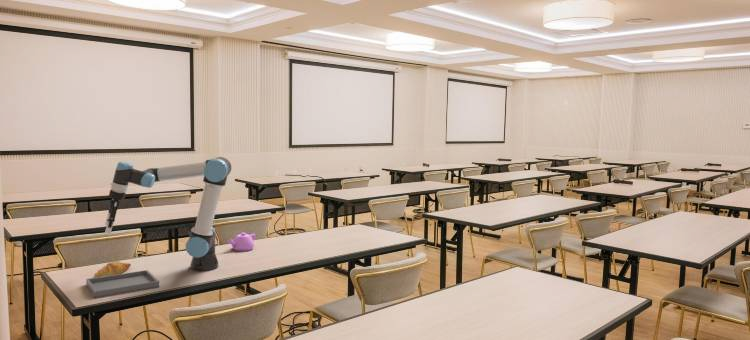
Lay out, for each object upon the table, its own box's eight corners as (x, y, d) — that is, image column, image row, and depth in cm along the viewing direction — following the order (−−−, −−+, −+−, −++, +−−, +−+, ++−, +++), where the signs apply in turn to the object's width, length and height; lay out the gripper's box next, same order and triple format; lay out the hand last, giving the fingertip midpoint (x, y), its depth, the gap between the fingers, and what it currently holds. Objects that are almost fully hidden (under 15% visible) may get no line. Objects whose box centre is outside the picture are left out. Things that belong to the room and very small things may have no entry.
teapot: (222, 249, 335) (222, 233, 334) (249, 244, 350) (249, 228, 349) (234, 253, 326) (234, 237, 325) (261, 248, 340) (261, 232, 339)
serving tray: (147, 275, 279) (147, 269, 278) (159, 286, 261) (159, 281, 261) (86, 284, 261) (86, 279, 261) (94, 297, 244) (94, 291, 243)
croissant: (98, 286, 270) (102, 274, 267) (86, 274, 273) (90, 262, 270) (133, 274, 289) (137, 263, 286) (122, 263, 292) (126, 252, 289)
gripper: (110, 183, 283) (100, 220, 284) (110, 195, 261) (99, 235, 263) (125, 186, 286) (115, 223, 288) (126, 198, 265) (115, 237, 266)
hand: (107, 228), depth 275 cm, fingers open, 13 cm apart
